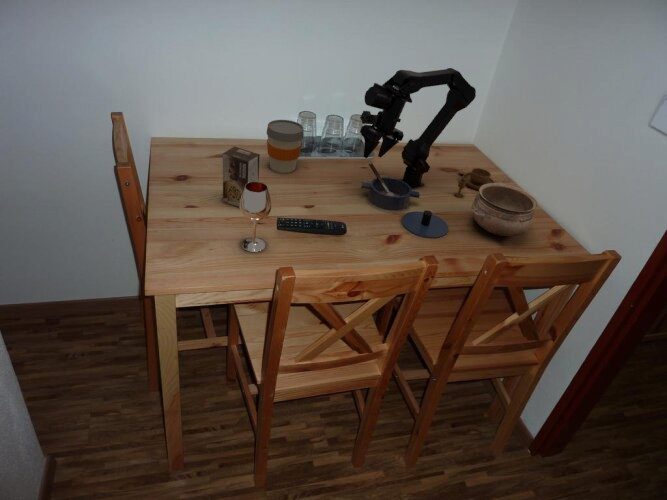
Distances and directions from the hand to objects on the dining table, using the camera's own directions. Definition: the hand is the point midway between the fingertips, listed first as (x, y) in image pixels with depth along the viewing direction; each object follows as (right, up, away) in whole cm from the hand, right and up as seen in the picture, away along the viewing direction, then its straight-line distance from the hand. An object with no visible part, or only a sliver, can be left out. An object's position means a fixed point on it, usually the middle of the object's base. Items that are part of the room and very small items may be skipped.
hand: (372, 157), depth 166 cm
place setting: (+37, -7, +21) cm, 43 cm away
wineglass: (-34, -29, -27) cm, 53 cm away
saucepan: (+5, -14, +2) cm, 15 cm away
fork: (+4, -9, +2) cm, 10 cm away
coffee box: (-41, -16, -10) cm, 45 cm away
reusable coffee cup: (-31, -1, +13) cm, 33 cm away
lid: (+16, -23, -8) cm, 29 cm away
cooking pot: (+39, -24, -4) cm, 46 cm away
